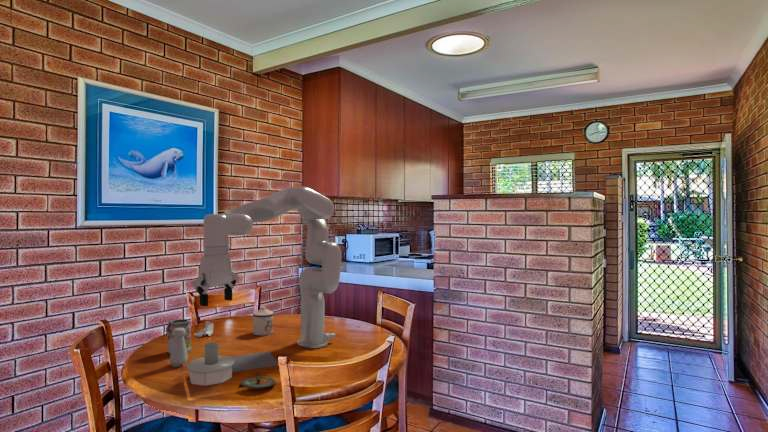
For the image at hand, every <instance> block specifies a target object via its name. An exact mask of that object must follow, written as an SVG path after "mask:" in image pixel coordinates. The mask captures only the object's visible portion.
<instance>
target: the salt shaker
mask: <svg viewBox="0 0 768 432" xmlns="http://www.w3.org/2000/svg"><path fill="white" fill-rule="evenodd" d="M185 333H186V330H185V329H184V328H175V329H174V330H173V331H172V335H173V336H174V341H173V346H172V351H171V355H170V354H169V356H170V357H169V362H170V364H171V366H172V367H173V368H181V367H184V364H186V363H187V361H188V359H189V355H188V352H187V349H186V344H185V339H184V335H185Z"/></svg>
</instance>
